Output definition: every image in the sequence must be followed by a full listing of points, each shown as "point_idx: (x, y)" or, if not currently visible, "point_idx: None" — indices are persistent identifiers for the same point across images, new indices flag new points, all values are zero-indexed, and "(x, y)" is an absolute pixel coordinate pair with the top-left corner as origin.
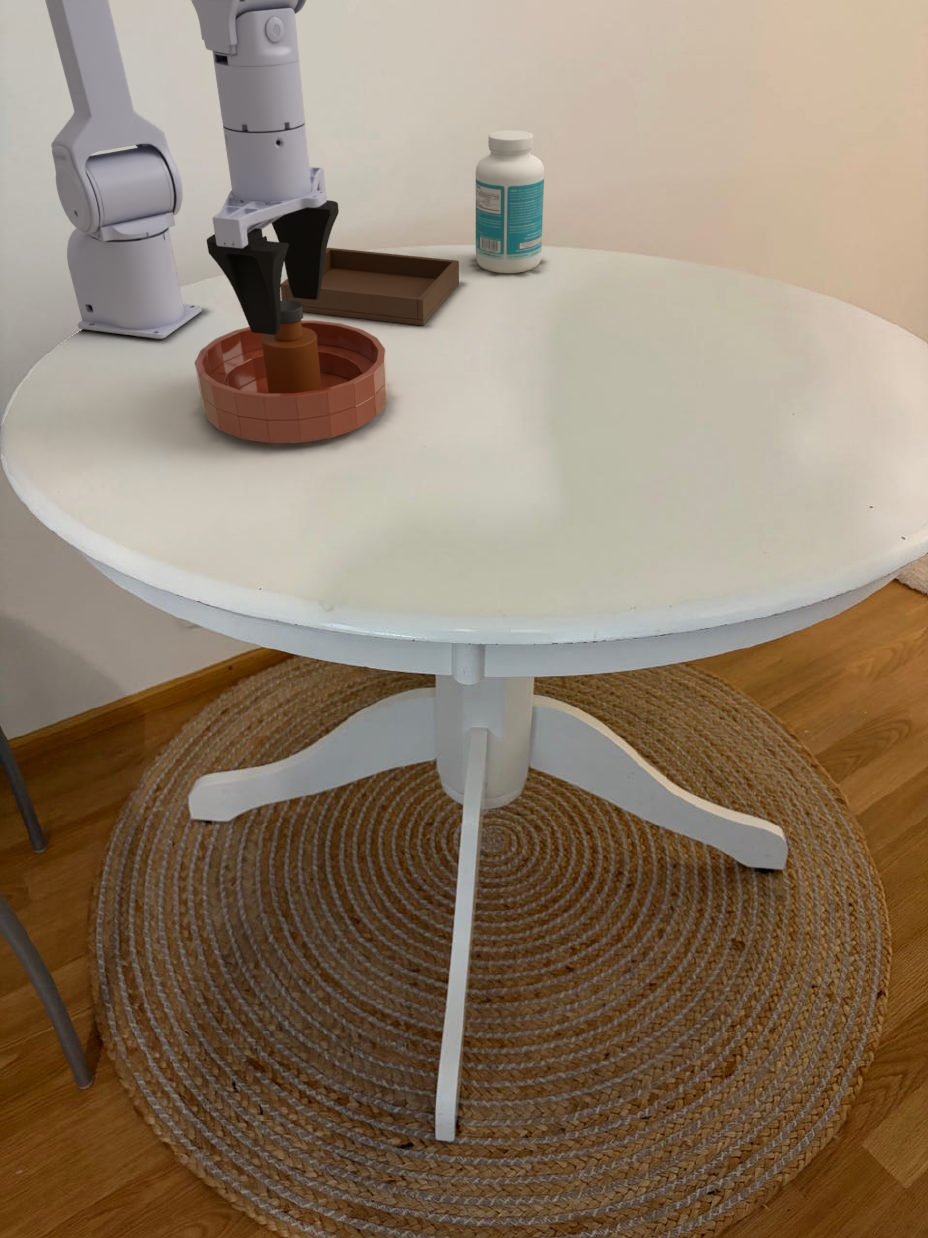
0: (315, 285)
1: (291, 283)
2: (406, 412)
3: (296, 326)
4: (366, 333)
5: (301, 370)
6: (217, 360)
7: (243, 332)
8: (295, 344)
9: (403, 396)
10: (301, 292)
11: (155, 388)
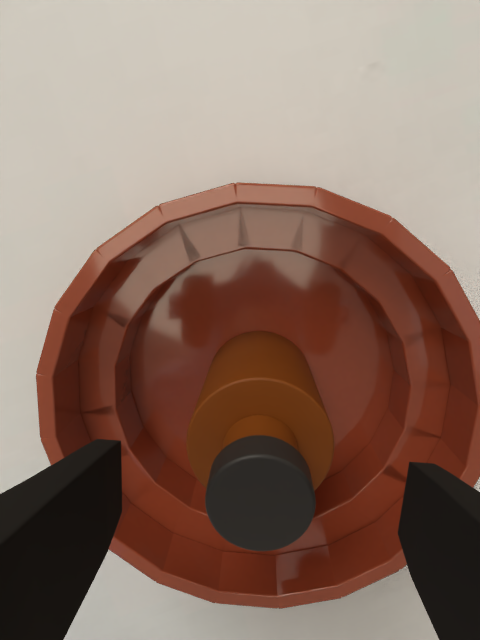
0: (102, 465)
1: (105, 546)
2: (232, 154)
3: (279, 437)
4: (77, 286)
5: (308, 376)
6: (243, 562)
7: (155, 562)
8: (307, 414)
9: (162, 183)
10: (116, 497)
11: (249, 614)
